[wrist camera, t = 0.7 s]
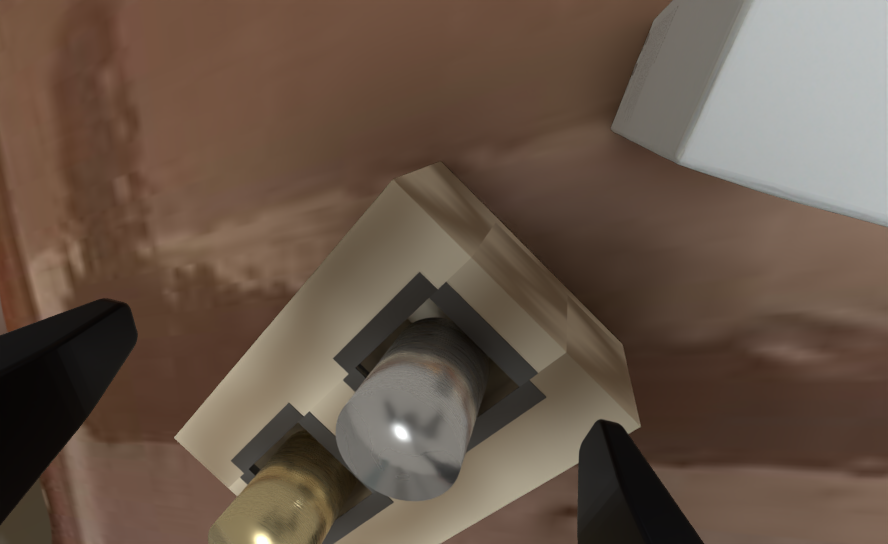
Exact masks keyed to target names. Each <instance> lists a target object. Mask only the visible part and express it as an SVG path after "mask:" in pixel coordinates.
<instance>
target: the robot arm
mask: <svg viewBox="0 0 888 544" xmlns="http://www.w3.org/2000/svg"><path fill="white" fill-rule="evenodd" d="M137 337H138V333H137V329H136V326H135V322H134V319H133V315H132V312H131V309H130V307H129V305H128V304H127V303H124V302H121V301H116V300H112V299H108V298H103V299H99V300H96V301H93V302H90V303H88V304H85V305H82V306H79V307H77V308H74V309H71V310H68V311H66V312H63V313H60V314H57V315H55V316H52V317H49V318H47V319H44V320H41V321H38V322H36V323H33V324H30V325H27V326H25V327H22V328H19V329H16V330H14V331H11V332H8V333H6V334H3V335H0V525H1V524H2V523H3V521H4V520H5V519H6V518H7V516H8V515H9V514H10V513H11V511H12V510H13V509H14V508H15V507H16V505H17V504H18V503H19V501H20V500H21V499H22V498H23V497H24V495H25V494H26V493H27V492H28V491H29V489H30V488H31V487H32V486H33V484H34V483H35V482H36V481H37V479H38V478H39V477H40V476H41V474H42V473H43V472H44V471H45V470H46V468H47V467H48V466H49V465H50V463H51V462H52V461H53V460H54V458H55V457H56V456H57V455H58V453H59V452H60V451H61V450H62V449H63V447H64V446H65V445H66V444H67V442H68V441H69V440H70V439H71V437H72V436H73V435H74V434H75V433H76V431H77V430H78V429H79V427H80V426H81V425H82V424H83V422H84V421H85V420H86V418H87V417H88V416H89V414H90V413H91V411H92V410H93V409H94V407H95V406H96V404H97V403H98V401H99V400H100V398H101V397H102V395H103V394H104V392H105V391H106V389H107V388H108V386H109V385H110V383H111V381H112V380H113V378H114V377H115V375H116V374H117V372H118V371H119V369H120V368H121V366H122V365H123V363H124V362H125V360H126V359H127V357H128V356H129V354H130V353H131V351H132V350H133V348H134V346H135V344H136V342H137ZM577 537H578V544H704V543H703V541H702V540H701V538H700V537H699V535H698V534H697V533H696V531H695V530H694V528H693V527H692V525H691V524H690V522H689V521H688V520H687V518H686V517H685V515H684V514H683V512H682V511H681V509H680V508H679V507H678V505H677V504H676V502H675V501H674V499H673V498H672V497H671V495H670V494H669V492H668V491H667V489H666V488H665V486H664V485H663V484H662V482H661V481H660V479H659V478H658V476H657V475H656V473H655V472H654V471H653V469H652V468H651V466H650V465H649V463H648V462H647V460H646V459H645V458H644V456H643V455H642V453H641V452H640V450H639V449H638V448H637V446H636V445H635V443H634V442H633V440H632V439H631V437H630V436H629V435H628V433H627V432H626V430H625V429H624V428H623V426H622V425H620V424H619V423H616V422H612V421H608V420H604V419H599V420H597V421H596V422H595V423H594V425H593V426H592V428H591V429H590V431H589V432H588V434H587V435H586V437H585V438H584V440H583V441H582V443H581V446H580V449H579V466H578V517H577Z"/></svg>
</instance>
